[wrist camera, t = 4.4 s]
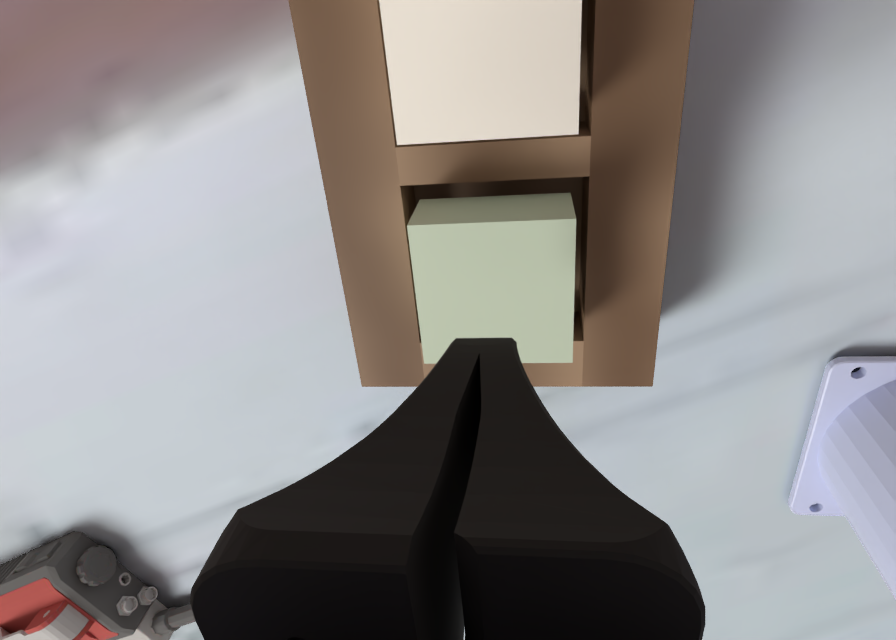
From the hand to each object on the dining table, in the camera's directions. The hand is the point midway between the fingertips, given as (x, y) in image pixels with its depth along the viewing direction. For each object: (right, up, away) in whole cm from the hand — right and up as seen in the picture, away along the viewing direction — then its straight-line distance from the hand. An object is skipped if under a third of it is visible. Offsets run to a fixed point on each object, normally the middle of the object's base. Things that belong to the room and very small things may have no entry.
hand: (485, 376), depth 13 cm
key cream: (0, +9, +2) cm, 9 cm away
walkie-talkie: (-21, -14, +23) cm, 34 cm away
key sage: (+1, +3, +5) cm, 6 cm away
